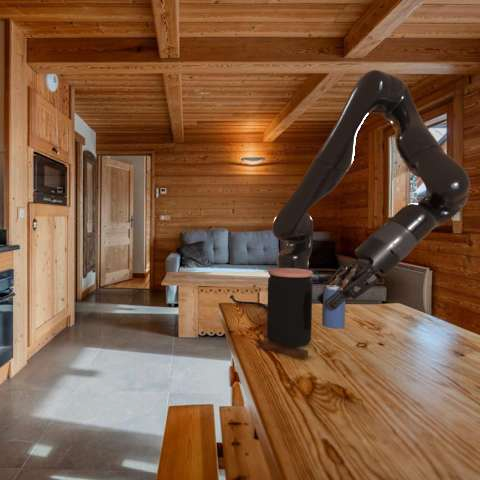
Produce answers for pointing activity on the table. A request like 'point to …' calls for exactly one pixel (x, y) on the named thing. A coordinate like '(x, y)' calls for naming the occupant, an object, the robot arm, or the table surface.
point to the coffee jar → (289, 306)
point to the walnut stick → (283, 349)
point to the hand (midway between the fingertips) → (324, 304)
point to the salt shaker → (332, 316)
